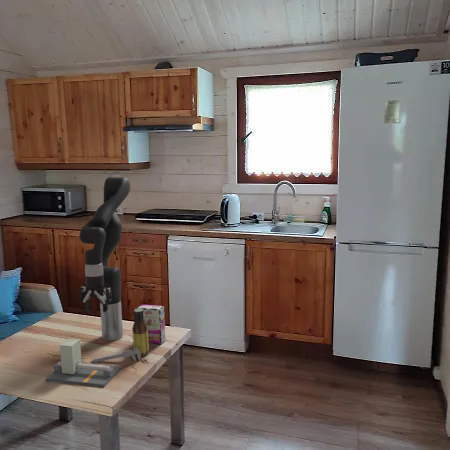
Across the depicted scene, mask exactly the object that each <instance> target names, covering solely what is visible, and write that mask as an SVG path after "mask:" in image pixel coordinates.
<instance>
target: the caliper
mask: <svg viewBox="0 0 450 450" xmlns="http://www.w3.org/2000/svg"><path fill="white" fill-rule="evenodd" d="M135 354H137V355H138V356H137V355H135ZM136 356H137V357H136ZM122 357H123V359H126V358H129V357H131V358H132V360H133V361H135V362H136V361H137V359H138V361H141V358H142V356H141V355H140V350H139V348H138V349H137V346H136V348H135V347H134V346H133V347H132V348H131V349H127V350H124V351H122V352H118V353H114V354H109V355H105V356H101V357H95V358H93V359H91V360H90V363H99V362H105V361H109V360H114V359H118V358H122Z"/></svg>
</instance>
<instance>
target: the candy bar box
mask: <svg viewBox="0 0 450 450" xmlns="http://www.w3.org/2000/svg"><path fill="white" fill-rule="evenodd" d="M138 308H142V309H143V310H144V313H143V317H144V321H145V322H146V324H147V330H148V344H154V345H155V344H156V345H162V344H163V343H164V342H165V341H166V323H165V322H166V319H165V306H163V305H153V304H152V305H151V304H141V305H139V306H138V307H137V309H138Z"/></svg>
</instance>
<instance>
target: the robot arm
mask: <svg viewBox="0 0 450 450" xmlns="http://www.w3.org/2000/svg"><path fill="white" fill-rule="evenodd" d="M130 191H131V182H130V180H129V179H128V178H127V177H123V176H121V177H120V176H119V177H117V176H114V177H113V176H109V177H107V178H106V179H105V180H104V185H103V203H102V204H101V205H100V206H99V207H98V208H97V209H96V211H95V212H94V214H93V216H92V218H91V219H89V221H88V222H87V223H85V225H84V226H83V227H82V228H81V230H80V232H79V234H78V235H79V240H80V242H82V244H85V245H93V244H94V246H93V248H91V249H87V250H85V252H84V262H85V263H84V274H85V275H84V278H85V286H84V285H82V286H80V287H79V288H78V289H79V293H78V299H79V301H80V302H83V310H85V312H89V310H90V301H89V300H90V299H91V298H92V299H94V298H95V299H99V308H100V322H101V323H100V324H101V325H100V326H101V338H102V340H104V341H110V342H111V341H117V340H120V339H121V338H123V336H124V335H123V333H124V332H123V316H122V314H123V313H122V299H121V298H122V274H121V273H122V272H121V270H120V268H119V267H114V266H112V267H111V266H110V267H109V266H108V264H109V259H110V256H111V255H112V253H113V251H115V249H116V248H117V247H118V245H119V243H120V242H121V238H122V230H123V224H122V221H121V218H120V217H119V215H118V214H117V210H118V208H119V207H120V206H121V205H122V203H123V202H124V200H125V199H126V198H127V197H128V195H129V194H130ZM86 293H87V294H86Z"/></svg>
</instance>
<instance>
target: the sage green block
mask: <svg viewBox="0 0 450 450" xmlns="http://www.w3.org/2000/svg"><path fill="white" fill-rule="evenodd" d="M59 352H60V362H61V366H62V373H66V374H75V373H76V372H77V371H78V370H79V369H76V363H80V364H82V363H83V361H82V349H81V339H79V338H78V339H77V338H67V339H66V340H64V341H63V342H61V344H59Z"/></svg>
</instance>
